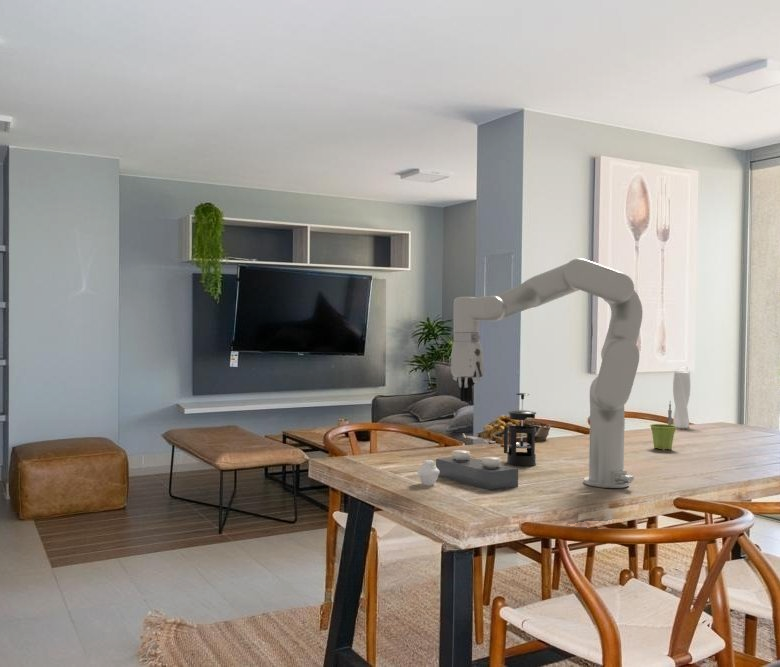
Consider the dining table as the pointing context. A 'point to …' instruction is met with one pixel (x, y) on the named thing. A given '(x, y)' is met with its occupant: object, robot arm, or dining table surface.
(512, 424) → the food tray
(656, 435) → the plant pot
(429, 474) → the white ribbed round lump
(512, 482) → the mount
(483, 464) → the knob
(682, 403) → the skyscraper
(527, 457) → the french press
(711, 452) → the dining table surface
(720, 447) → the dining table surface
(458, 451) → the knob
